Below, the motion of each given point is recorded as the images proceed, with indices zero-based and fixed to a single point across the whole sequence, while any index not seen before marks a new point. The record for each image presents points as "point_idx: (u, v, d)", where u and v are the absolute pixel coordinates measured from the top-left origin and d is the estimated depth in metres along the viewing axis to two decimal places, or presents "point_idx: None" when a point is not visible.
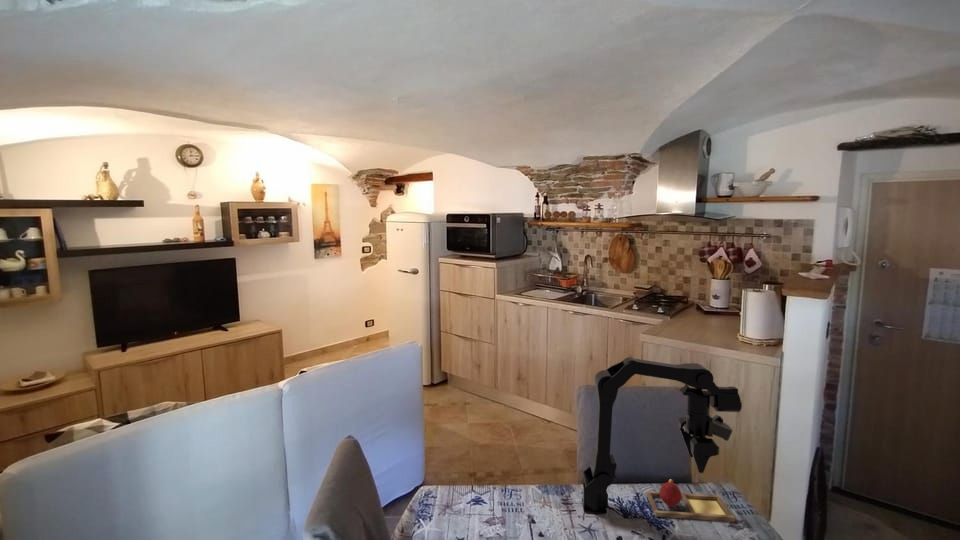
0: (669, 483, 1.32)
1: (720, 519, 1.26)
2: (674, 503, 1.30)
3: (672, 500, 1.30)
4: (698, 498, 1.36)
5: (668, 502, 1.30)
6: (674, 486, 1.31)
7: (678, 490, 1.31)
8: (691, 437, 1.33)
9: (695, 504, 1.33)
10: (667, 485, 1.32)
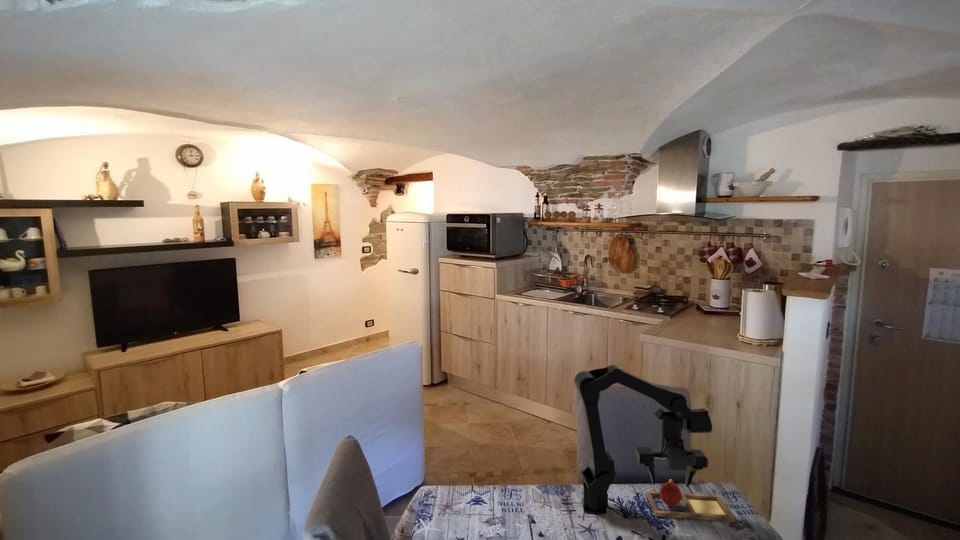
0: (669, 483, 1.32)
1: (720, 519, 1.26)
2: (674, 503, 1.30)
3: (672, 500, 1.30)
4: (698, 498, 1.36)
5: (668, 502, 1.30)
6: (674, 486, 1.31)
7: (678, 490, 1.31)
8: (688, 467, 1.31)
9: (695, 504, 1.33)
10: (667, 485, 1.32)
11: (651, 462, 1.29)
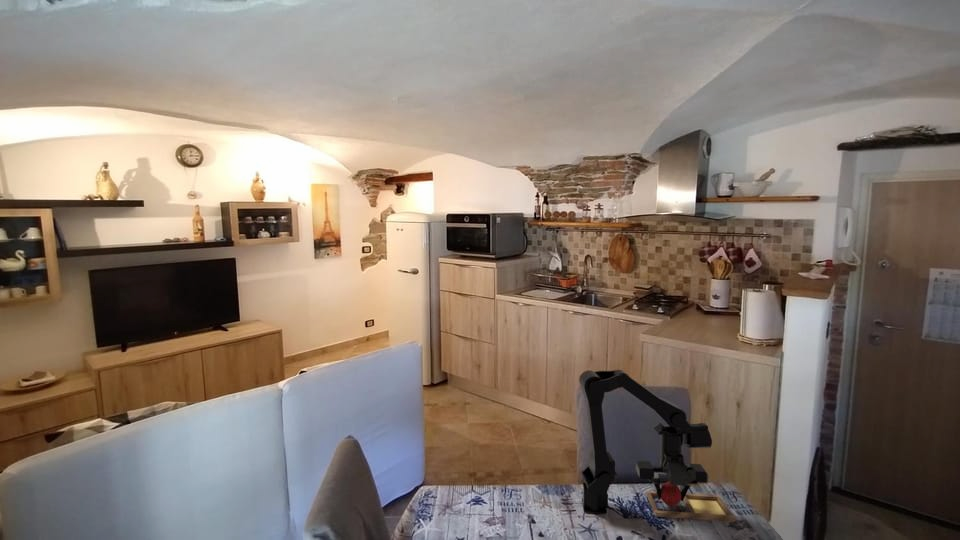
0: (669, 483, 1.32)
1: (720, 519, 1.26)
2: (674, 503, 1.30)
3: (672, 500, 1.30)
4: (698, 498, 1.36)
5: (668, 502, 1.30)
6: (674, 486, 1.31)
7: (678, 490, 1.31)
8: None
9: (695, 504, 1.33)
10: (667, 485, 1.32)
11: (651, 477, 1.30)
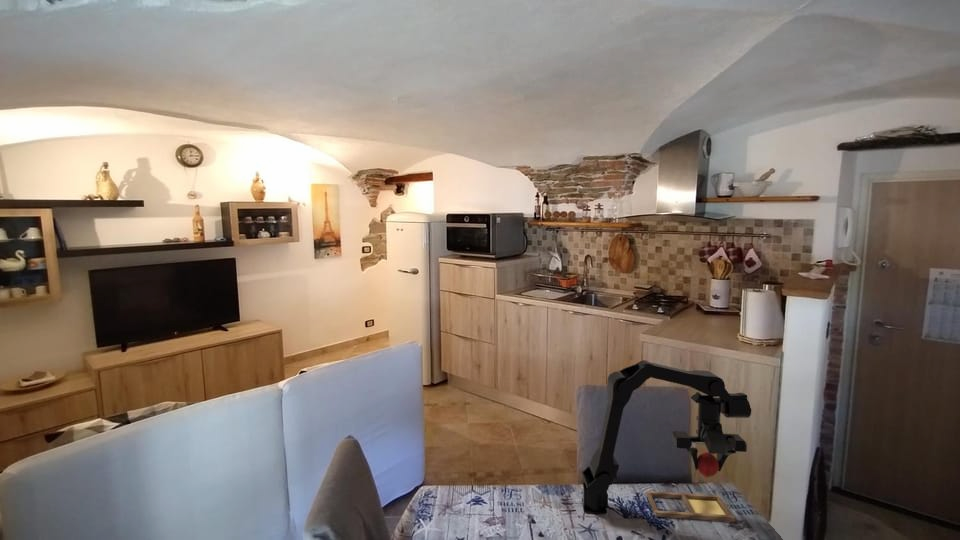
0: (707, 453, 1.30)
1: (720, 519, 1.26)
2: (712, 473, 1.28)
3: (710, 470, 1.28)
4: (698, 498, 1.36)
5: (705, 472, 1.28)
6: (712, 456, 1.29)
7: (716, 460, 1.29)
8: None
9: (695, 504, 1.33)
10: (704, 456, 1.30)
11: (688, 446, 1.28)
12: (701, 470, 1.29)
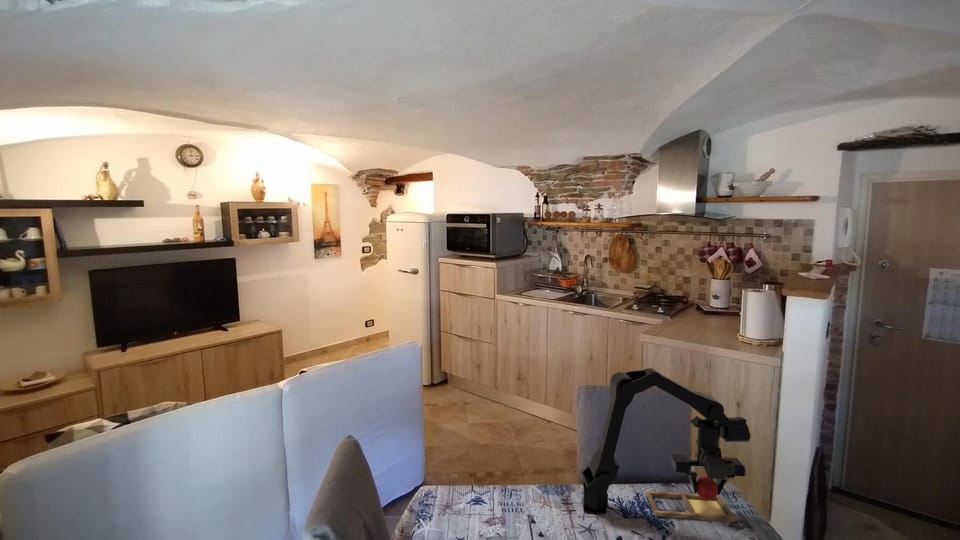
0: (706, 477, 1.30)
1: (720, 519, 1.26)
2: (711, 497, 1.28)
3: (709, 494, 1.28)
4: (698, 498, 1.36)
5: (705, 496, 1.29)
6: (711, 480, 1.30)
7: (715, 484, 1.29)
8: None
9: (695, 504, 1.33)
10: (703, 479, 1.30)
11: (688, 470, 1.28)
12: (700, 494, 1.30)
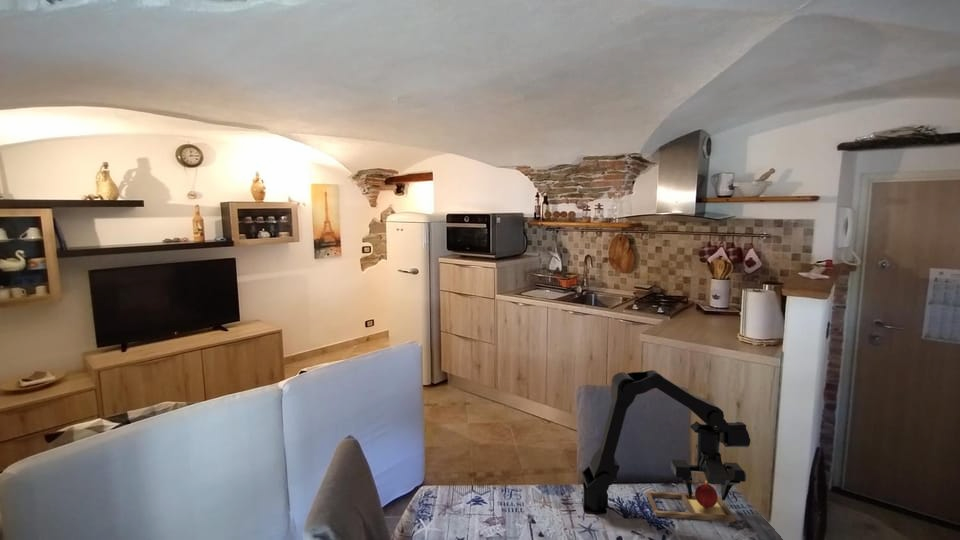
0: (705, 485, 1.30)
1: (720, 519, 1.26)
2: (711, 505, 1.29)
3: (709, 502, 1.28)
4: None
5: (704, 504, 1.29)
6: (710, 488, 1.30)
7: (714, 492, 1.29)
8: None
9: (695, 504, 1.33)
10: (703, 487, 1.30)
11: (688, 476, 1.28)
12: (700, 502, 1.30)
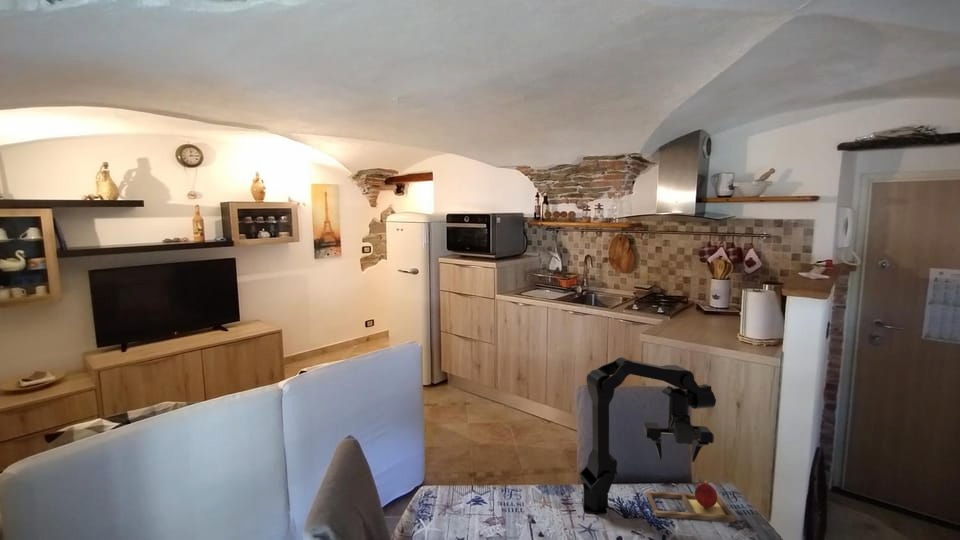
0: (705, 484, 1.30)
1: (720, 519, 1.26)
2: (710, 505, 1.29)
3: (708, 502, 1.28)
4: None
5: (704, 503, 1.29)
6: (710, 487, 1.30)
7: (714, 491, 1.30)
8: (694, 442, 1.36)
9: (695, 504, 1.33)
10: (702, 487, 1.30)
11: (658, 436, 1.34)
12: (700, 501, 1.30)
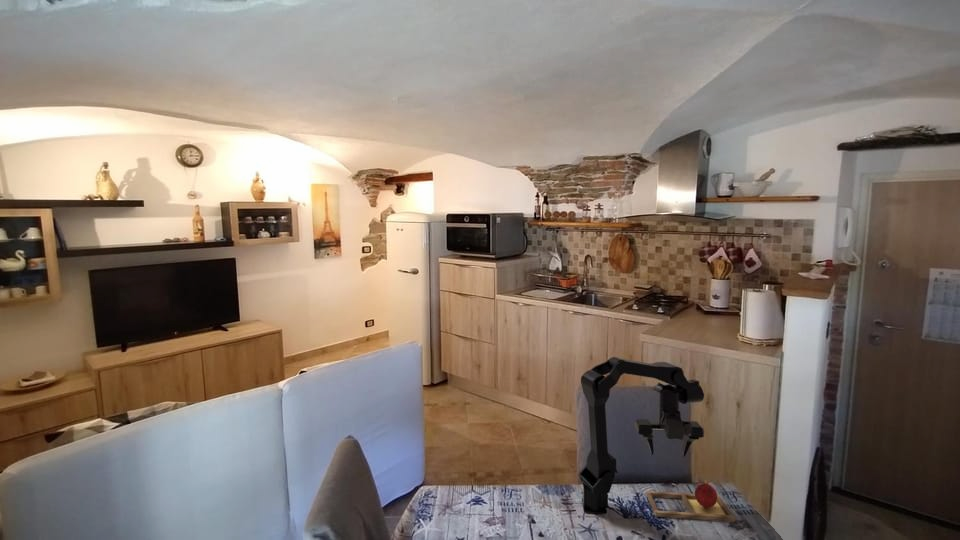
0: (705, 484, 1.30)
1: (720, 519, 1.26)
2: (710, 505, 1.29)
3: (708, 502, 1.28)
4: None
5: (704, 503, 1.29)
6: (710, 487, 1.30)
7: (714, 491, 1.30)
8: (685, 437, 1.38)
9: (695, 504, 1.33)
10: (702, 487, 1.30)
11: (649, 433, 1.36)
12: (700, 501, 1.30)
